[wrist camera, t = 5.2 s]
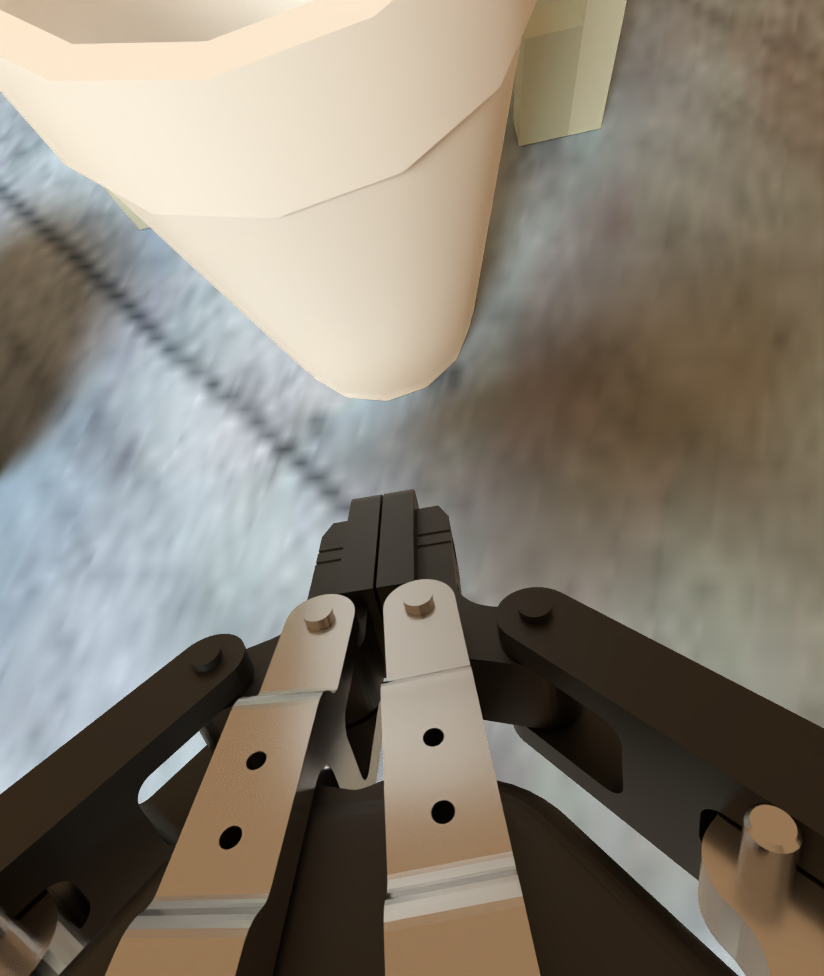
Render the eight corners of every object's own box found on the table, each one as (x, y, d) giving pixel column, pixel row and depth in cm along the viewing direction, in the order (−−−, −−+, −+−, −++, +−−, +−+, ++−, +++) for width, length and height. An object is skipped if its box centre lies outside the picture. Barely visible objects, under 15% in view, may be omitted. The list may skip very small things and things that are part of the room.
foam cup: (391, 163, 22) (265, -442, 10) (574, 308, 20) (712, -267, 7) (203, 327, 22) (-190, -110, 9) (368, 500, 19) (130, 219, 7)
